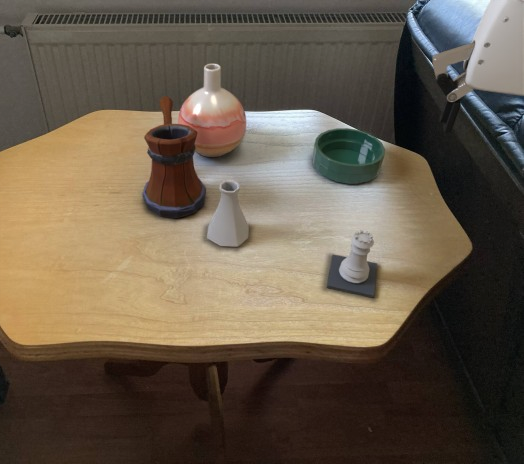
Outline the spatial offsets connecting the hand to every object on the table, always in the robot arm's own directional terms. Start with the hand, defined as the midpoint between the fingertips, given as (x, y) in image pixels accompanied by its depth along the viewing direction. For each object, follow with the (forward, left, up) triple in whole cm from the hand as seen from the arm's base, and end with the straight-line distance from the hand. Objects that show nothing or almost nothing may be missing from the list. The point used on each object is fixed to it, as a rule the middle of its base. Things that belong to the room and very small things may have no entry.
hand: (489, 134), depth 61 cm
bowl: (+15, -28, -26) cm, 41 cm away
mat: (+11, +2, -26) cm, 28 cm away
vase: (+42, -26, -26) cm, 56 cm away
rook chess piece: (+11, +2, -26) cm, 28 cm away
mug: (+45, -11, -26) cm, 53 cm away
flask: (+32, -2, -26) cm, 41 cm away
